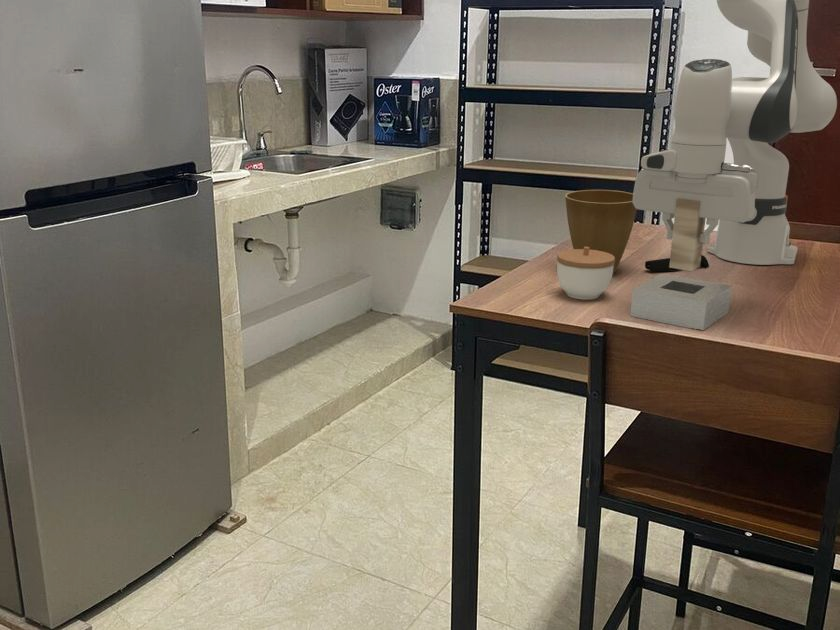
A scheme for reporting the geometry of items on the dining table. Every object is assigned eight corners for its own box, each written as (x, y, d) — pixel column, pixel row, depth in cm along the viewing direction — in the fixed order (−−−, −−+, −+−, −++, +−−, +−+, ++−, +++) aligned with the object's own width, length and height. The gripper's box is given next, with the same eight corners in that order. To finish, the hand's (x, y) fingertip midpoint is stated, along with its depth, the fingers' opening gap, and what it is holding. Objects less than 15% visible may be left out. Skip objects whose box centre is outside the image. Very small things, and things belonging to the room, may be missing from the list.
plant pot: (576, 258, 188) (581, 187, 183) (642, 268, 180) (649, 193, 176) (549, 273, 176) (553, 197, 171) (618, 284, 169) (624, 204, 164)
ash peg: (677, 263, 150) (685, 195, 146) (699, 266, 148) (708, 198, 144) (669, 267, 147) (676, 198, 143) (691, 271, 145) (699, 201, 141)
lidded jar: (599, 306, 154) (603, 257, 151) (545, 297, 160) (548, 248, 157) (619, 293, 163) (623, 245, 160) (568, 284, 168) (571, 238, 165)
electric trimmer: (639, 272, 179) (640, 258, 178) (698, 265, 185) (699, 250, 184) (650, 277, 176) (652, 262, 175) (710, 269, 182) (711, 254, 181)
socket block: (659, 299, 159) (661, 273, 157) (728, 312, 152) (732, 285, 150) (630, 315, 149) (632, 288, 148) (703, 331, 142) (706, 302, 140)
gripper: (765, 164, 138) (754, 246, 142) (647, 153, 150) (640, 230, 154) (754, 168, 133) (743, 253, 138) (632, 157, 145) (625, 236, 149)
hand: (687, 241), depth 146 cm, fingers closed on ash peg, 4 cm apart
